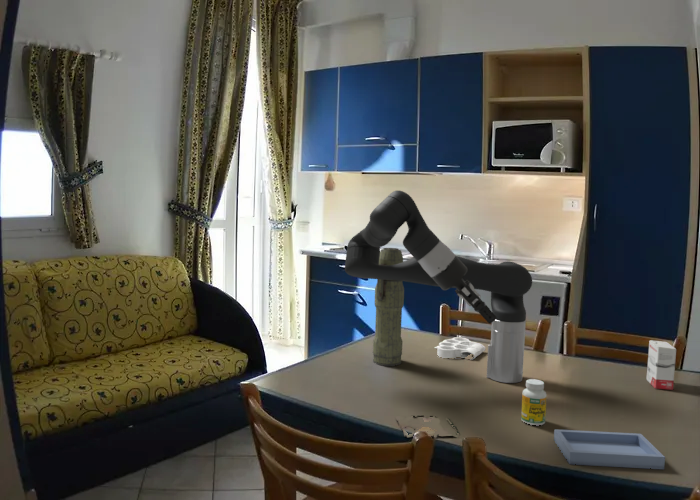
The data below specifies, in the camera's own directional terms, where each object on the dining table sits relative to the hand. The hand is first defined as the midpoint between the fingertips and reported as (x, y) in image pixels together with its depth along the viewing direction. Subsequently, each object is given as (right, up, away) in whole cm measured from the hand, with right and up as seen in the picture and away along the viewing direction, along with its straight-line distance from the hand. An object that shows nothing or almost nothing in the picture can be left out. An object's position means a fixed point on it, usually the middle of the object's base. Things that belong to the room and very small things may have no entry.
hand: (490, 316), depth 135 cm
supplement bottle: (+10, -25, +2) cm, 27 cm away
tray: (+20, -26, -15) cm, 36 cm away
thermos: (-21, -19, +46) cm, 54 cm away
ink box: (+55, -23, +31) cm, 67 cm away
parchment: (-15, -25, -3) cm, 29 cm away
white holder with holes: (+3, -19, +58) cm, 62 cm away
